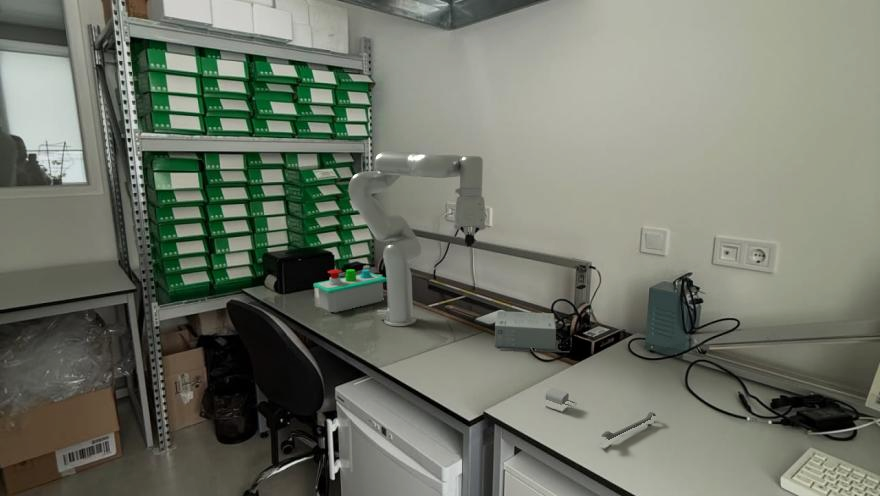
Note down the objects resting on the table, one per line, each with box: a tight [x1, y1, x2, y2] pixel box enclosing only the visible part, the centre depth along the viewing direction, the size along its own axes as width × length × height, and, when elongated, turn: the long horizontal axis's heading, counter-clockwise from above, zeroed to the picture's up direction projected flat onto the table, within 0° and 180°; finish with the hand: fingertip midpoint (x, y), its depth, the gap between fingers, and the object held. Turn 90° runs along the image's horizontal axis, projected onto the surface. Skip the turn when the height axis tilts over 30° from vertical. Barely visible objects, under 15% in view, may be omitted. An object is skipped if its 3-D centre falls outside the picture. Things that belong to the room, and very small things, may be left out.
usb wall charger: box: [545, 387, 578, 408], centre depth 116 cm, size 4×7×4 cm, turn 51°
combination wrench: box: [601, 411, 657, 440], centre depth 105 cm, size 4×1×20 cm
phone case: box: [474, 309, 505, 328], centre depth 181 cm, size 9×2×16 cm
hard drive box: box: [494, 310, 557, 350], centre depth 159 cm, size 16×8×20 cm
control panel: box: [313, 268, 387, 313], centre depth 201 cm, size 15×16×30 cm
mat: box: [499, 340, 570, 353], centre depth 161 cm, size 22×20×1 cm
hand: (469, 245), depth 162 cm, fingers closed
